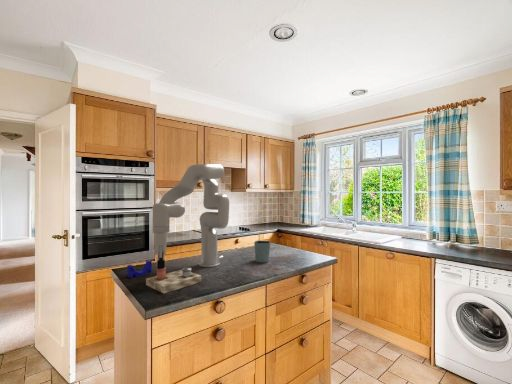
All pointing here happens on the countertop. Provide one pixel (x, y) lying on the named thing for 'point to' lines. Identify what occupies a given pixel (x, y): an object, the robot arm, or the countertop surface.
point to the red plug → (161, 274)
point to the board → (172, 281)
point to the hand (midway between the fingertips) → (161, 268)
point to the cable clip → (133, 273)
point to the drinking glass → (262, 251)
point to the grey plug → (186, 272)
